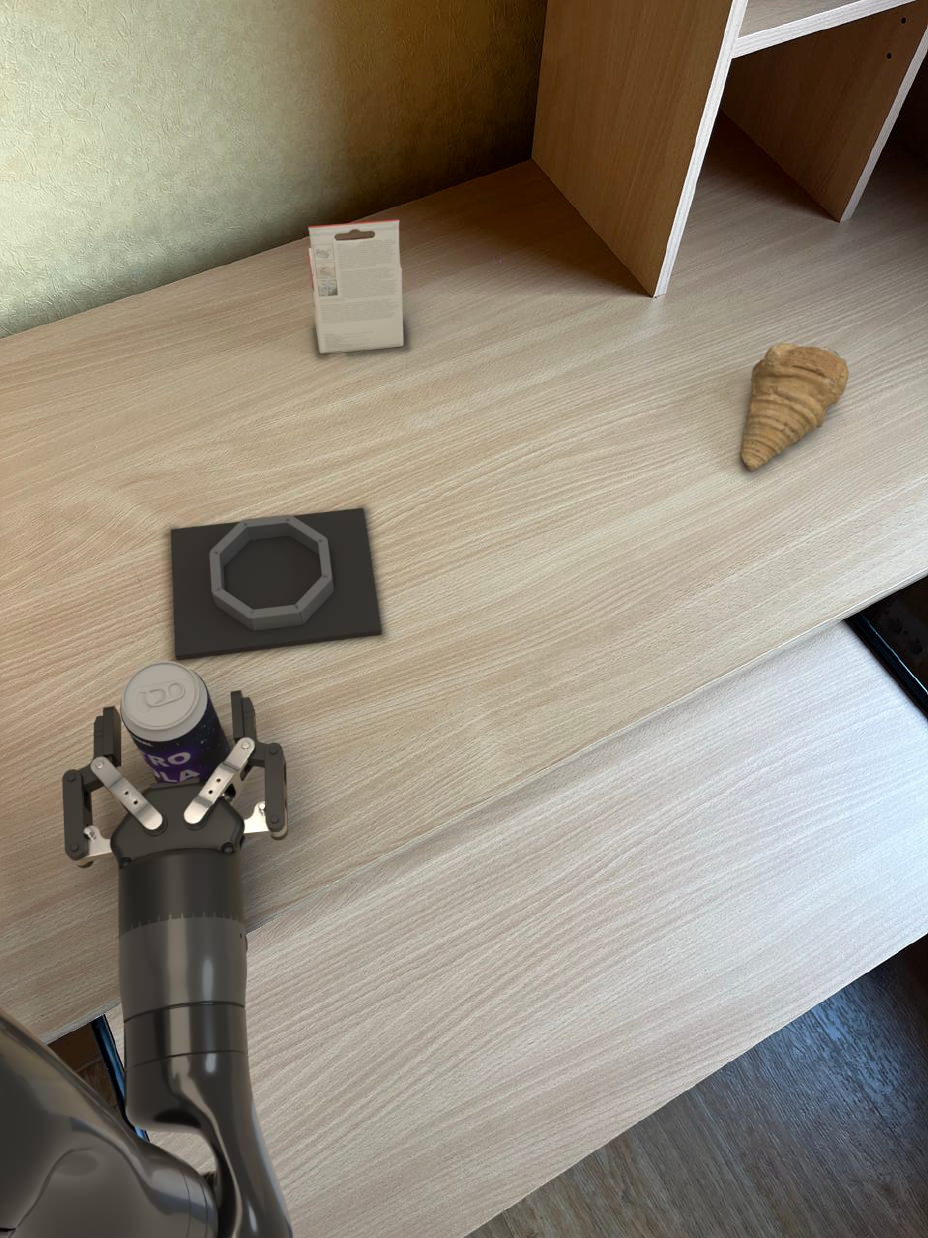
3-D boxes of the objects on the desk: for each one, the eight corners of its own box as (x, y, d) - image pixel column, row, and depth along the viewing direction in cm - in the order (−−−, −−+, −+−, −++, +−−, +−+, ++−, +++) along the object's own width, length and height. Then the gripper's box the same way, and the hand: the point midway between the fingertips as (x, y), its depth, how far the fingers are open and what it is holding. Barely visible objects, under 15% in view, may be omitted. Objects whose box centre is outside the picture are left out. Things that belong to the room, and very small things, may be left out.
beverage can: (146, 746, 79) (105, 672, 68) (220, 720, 80) (191, 643, 70) (167, 814, 76) (127, 748, 66) (243, 785, 77) (216, 716, 67)
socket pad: (177, 660, 82) (169, 643, 80) (172, 534, 88) (165, 514, 86) (381, 634, 84) (380, 617, 82) (363, 512, 90) (362, 492, 88)
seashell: (743, 491, 98) (827, 498, 93) (710, 450, 92) (799, 456, 87) (783, 360, 100) (868, 360, 96) (754, 311, 94) (844, 309, 89)
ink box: (316, 328, 100) (301, 198, 88) (399, 321, 101) (396, 191, 89) (319, 357, 99) (305, 228, 86) (404, 349, 99) (402, 221, 87)
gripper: (293, 906, 63) (272, 664, 70) (44, 944, 61) (52, 692, 69) (304, 936, 69) (284, 712, 77) (80, 971, 67) (83, 738, 75)
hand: (174, 703), depth 73 cm, fingers open, 8 cm apart
